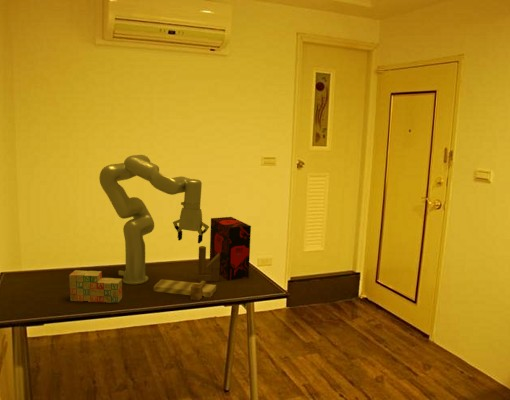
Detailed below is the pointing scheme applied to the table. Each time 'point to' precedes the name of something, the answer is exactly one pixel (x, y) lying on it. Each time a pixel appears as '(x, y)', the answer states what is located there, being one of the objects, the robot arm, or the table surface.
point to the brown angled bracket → (208, 266)
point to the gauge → (197, 290)
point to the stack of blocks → (94, 287)
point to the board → (182, 287)
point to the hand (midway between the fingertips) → (189, 241)
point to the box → (231, 246)
